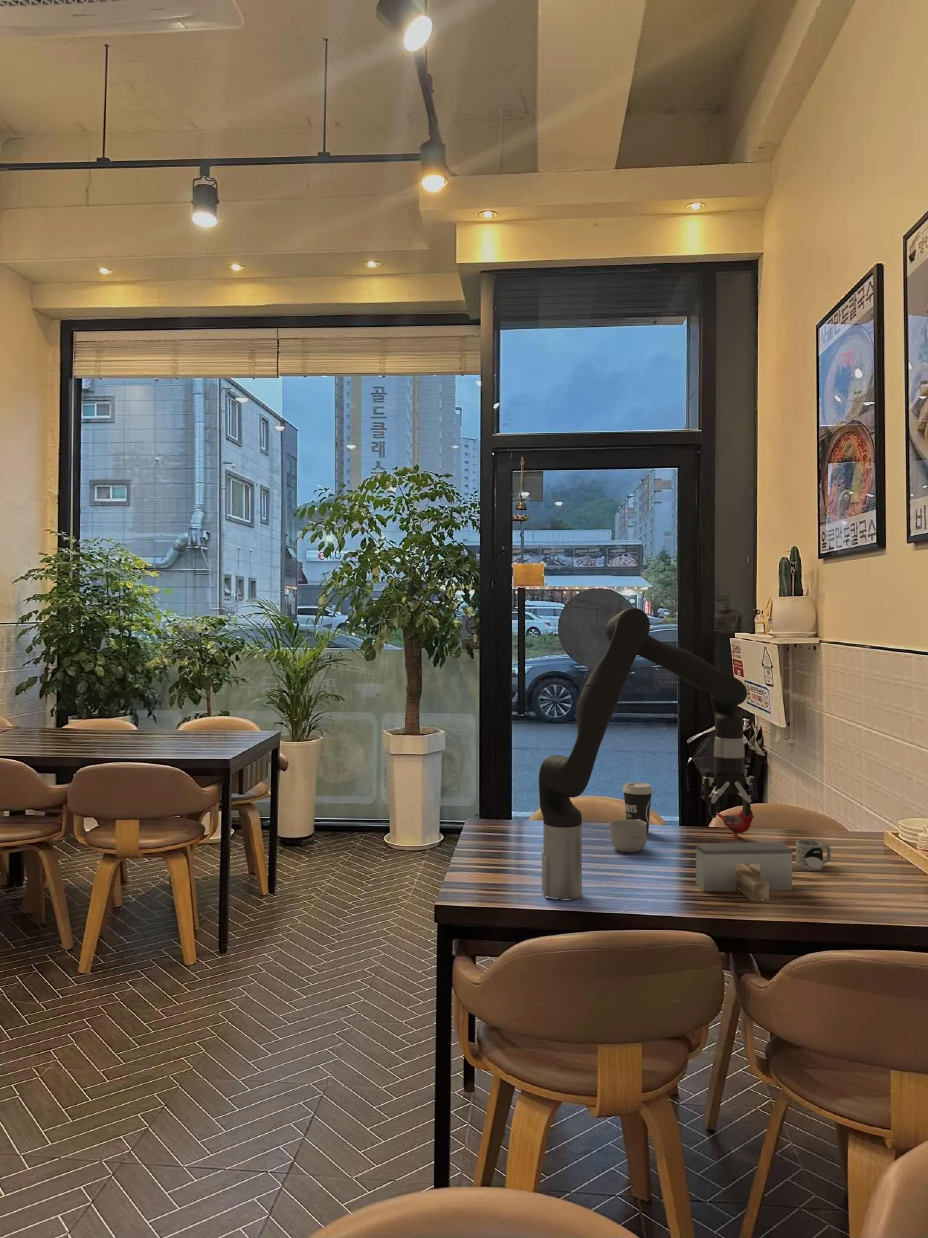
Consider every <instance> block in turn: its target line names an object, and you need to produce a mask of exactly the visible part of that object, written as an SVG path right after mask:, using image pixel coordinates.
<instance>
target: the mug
mask: <svg viewBox="0 0 928 1238" xmlns="http://www.w3.org/2000/svg"><path fill="white" fill-rule="evenodd" d="M824 849H825V851H826V857H825V858H824ZM831 852H832V850H831V846H830V845H829V844H824V843H822V842H821V841H818V840H815V839H814V840H812V839H798V840H795V867H796V868H797V869H799V870H803V871H807V872H808V871H809V872H820V871H823V870H824V865H825V864H827V863H829V862H830V861H831V855H832V853H831ZM822 869H823V870H822ZM819 870H820V871H819Z"/></svg>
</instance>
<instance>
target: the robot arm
mask: <svg viewBox="0 0 928 1238" xmlns="http://www.w3.org/2000/svg"><path fill="white" fill-rule="evenodd" d="M650 629H651V621H650V617H649V616H648V615H647V613H646V612H645V611H644V610H643V609H640V608H639V607H630V608H625V609H624V610H622V611H620V612H618V613H617V614H616V615H614V616H612V617H611V618H610V619H609V620H608V622H607V623H606V627H605V634H606V637H607V639H608V641H609V642H610V643H609V645H608V647H607V649H606V652H605V653H604V655H603V656H602V658H601V659H600V660H599V661H598V663H597V665H596V666H595V667H594V669H593V670H592V672H591V673H590V674H589V676H588V677H587V679H586V682H585V683H584V685H583V688H582V690H581V692H580V693H579V697H578V699H577V701H576V706H575V715H576V716H575V717H576V725H577V735H576V739H575V742H574V745H573V747H572V750H571V752H570V754H569V756H562V755H557V754H554V755H549V756H547V757H546V758H545V759H544V760H543V761H542V763H541V765H540V767H539V772H538V793H539V809H540V813H541V814H542V818H543V819H542V820H543V822H542V825H543V829H542V830H543V832H542V833H543V835H542V836H543V837H542V838H543V840H542V841H543V844H542V847H543V851H542V852H541V891H542V890H543V892H544V894H543V896H544V895H545V896H548V897H553V898H558V899H575V900H578V899H580V898H582V895H583V868H582V867H583V864H582V863H583V862H582V861H583V860H582V858H583V847H582V846H583V845H582V843H583V841H582V840H583V839H582V838H583V833H582V832H583V831H582V830H583V829H582V828H583V827H582V826H583V824H582V823H583V819H582V818H583V816H582V812H581V810H579V809H578V808H577V807H576V806H575V805H574V804H573V802H572V801H571V798H577V797H579V796H580V795H582V794H583V793H584V792H585V790H586V788H587V786H588V785H589V781H590V779H591V777H592V772H593V770H594V765H595V763H596V760H597V756H598V753H599V749H600V746H601V743H602V741H603V738H604V736H605V734H606V731H607V728H608V726H609V723H610V721H611V719H612V716H613V715H614V712H615V711H616V708H617V706H618V703H619V701H620V698H621V695H622V691H623V690H624V687H625V686H626V682H627V681H628V677H629V675H630V672H631V669H632V666H633V664H634V662H635V659H636V658H637V656H638V657H641V658H643V659H645V660H647V661H649V662H651V663H654V664H656V665H658V666H659V667H661V668H664V669H665V670H666V671H668V672H671V673H672V674H674V675H675V676H677V677H679V678H680V679H682V680H684V682H685V681H686V682H687V683H688V684H690V685H692V686H694V687H695V688H698V689H699V690H700V689H701V690H703V691H705V692H707V693H709V694H710V699H711V700H710V701H711V705H712V712H713V715H714V744H713V770H714V771H713V772H714V773H713V776H712V777H709V776H708V777H707V776H702V777H701V786H700V788H701V789H700V799H701V800H702V801H705V802H707V803H708V814H709V815H710V817H711V818H713V819H716V818H717V814H716V812H717V803H716V802H717V801H718V799H719V798H720V797H722V795H729V794H732V795H737V794H738V795H739V796H740V797H741V799H742V800H743V801H742V810H743V816H744V817H749V815H750V813H751V811H752V810H751V804H752V802H753V801H758V799H759V792H758V778H757V777H755V776H753V775H749V776H747V777H746V775H745V754H746V753H745V752H746V751H745V743H744V721H743V718H742V716H741V715H740V714H739V710H738V706H739V705H742V704H743V703H744V702H745V701H746V700H747V696H748V690H747V687H746V685H745V684H744V683H743V682H742V681H741V680H740V679H738V678H737V677H735V676H733V675H731V674H729V673H728V672H725V671H723V670H721V669H719V668H717V667H714V666H713V665H712V664H711V663H709V662H708V661H706V660H704V659H703V658H701V657H699V656H697V655H696V654H694V653H693V652H690V651H688V650H687V649H683V648H682V647H681V648H680V647H679V646H678V647H677V646H674V645H672V644H669V643H666V642H663V641H661V640H659V639H656V638H654V636H651V635H650V634H649V633H650ZM712 784H714V785H715V787H714V788H713V789H712V791H711V793H710V787H711V786H712ZM745 784H747V785H748V786H749V788H748V789H749V795H748V793H747V792H746V790H745V789H744V786H745ZM543 892H542V893H543ZM545 896H544V897H545Z"/></svg>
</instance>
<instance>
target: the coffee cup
mask: <svg viewBox="0 0 928 1238" xmlns="http://www.w3.org/2000/svg"><path fill="white" fill-rule="evenodd" d="M621 791H622V792H623V797H624V798H623V799H624V808H625V809H624V810H625V820H628V819H629V820H636V819H640V820H642V821H644V822H646V823H647V825H646V829H647V835H648V834H649V831H650V830H649V829H650V828H649V827H650V818H651V817H650V815H651V804H652V794H653V793H654V790H653V788H652V786H651V784H649V783H645V782H627V783H626V782H625V784H624V786H623V788H622V790H621Z"/></svg>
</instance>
